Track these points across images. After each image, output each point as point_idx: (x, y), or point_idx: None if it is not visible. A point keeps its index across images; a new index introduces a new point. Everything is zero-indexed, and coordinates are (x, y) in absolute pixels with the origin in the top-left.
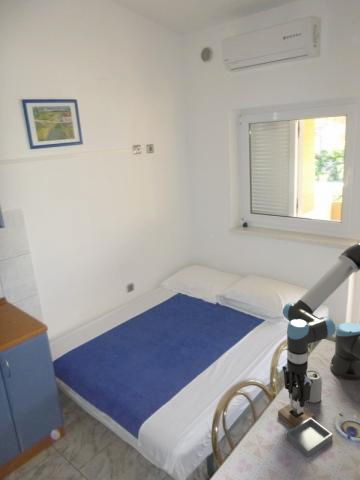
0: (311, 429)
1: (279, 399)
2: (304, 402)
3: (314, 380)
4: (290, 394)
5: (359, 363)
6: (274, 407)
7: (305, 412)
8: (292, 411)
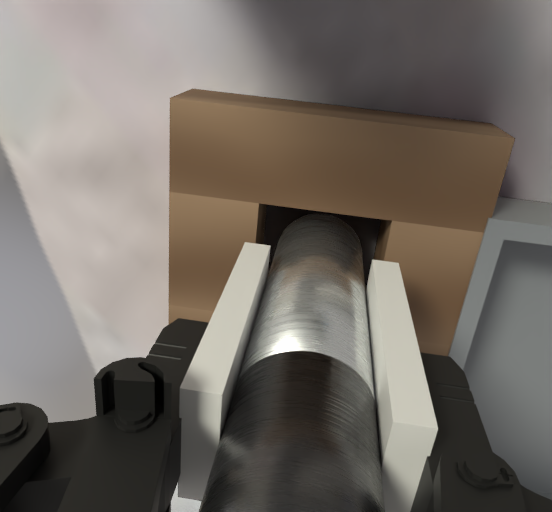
0: (537, 287)
1: (24, 146)
2: (478, 425)
3: None
4: (188, 491)
5: None
6: (88, 274)
7: (394, 190)
8: None
